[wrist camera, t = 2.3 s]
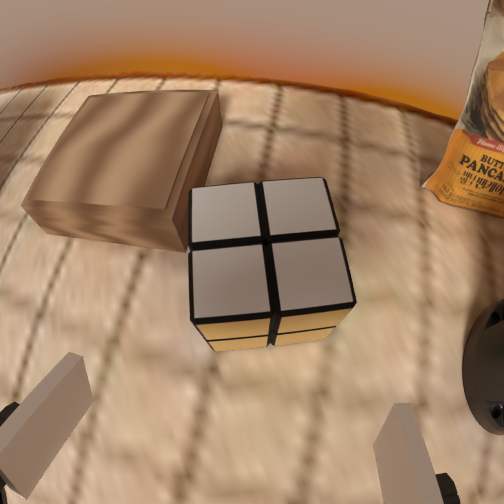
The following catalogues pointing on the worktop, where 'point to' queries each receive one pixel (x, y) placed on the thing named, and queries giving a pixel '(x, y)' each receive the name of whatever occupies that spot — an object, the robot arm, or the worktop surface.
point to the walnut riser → (128, 168)
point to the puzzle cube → (266, 263)
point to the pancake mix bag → (478, 131)
